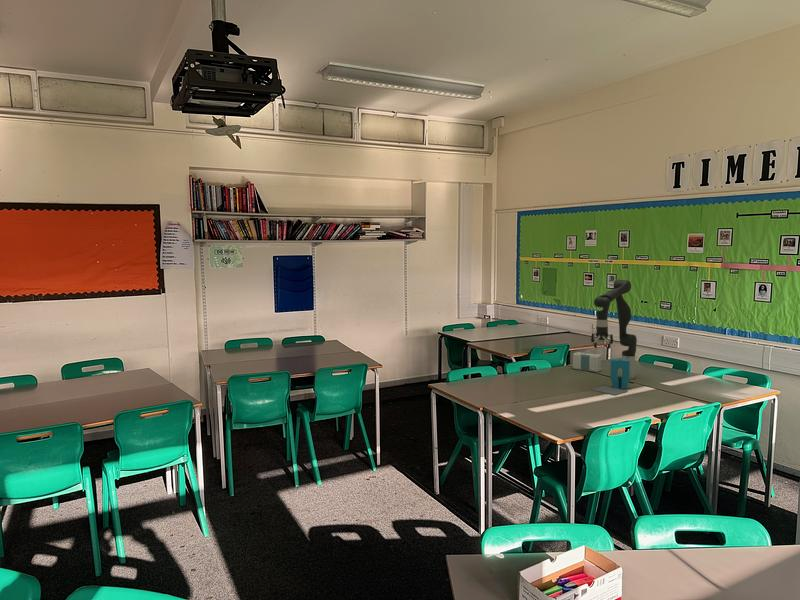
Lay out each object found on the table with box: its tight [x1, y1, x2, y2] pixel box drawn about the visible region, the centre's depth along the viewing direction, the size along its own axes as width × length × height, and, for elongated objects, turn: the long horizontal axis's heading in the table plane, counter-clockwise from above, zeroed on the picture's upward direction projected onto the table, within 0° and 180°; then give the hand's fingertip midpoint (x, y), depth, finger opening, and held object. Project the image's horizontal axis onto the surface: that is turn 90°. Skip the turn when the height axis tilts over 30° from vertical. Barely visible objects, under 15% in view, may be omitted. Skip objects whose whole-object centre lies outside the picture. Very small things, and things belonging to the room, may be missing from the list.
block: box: [610, 358, 630, 390], centre depth 387 cm, size 12×5×20 cm, turn 73°
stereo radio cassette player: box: [572, 346, 602, 373], centre depth 442 cm, size 21×8×20 cm, turn 50°
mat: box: [591, 385, 629, 396], centre depth 381 cm, size 15×18×1 cm
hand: (602, 348), depth 387 cm, fingers open, 8 cm apart
